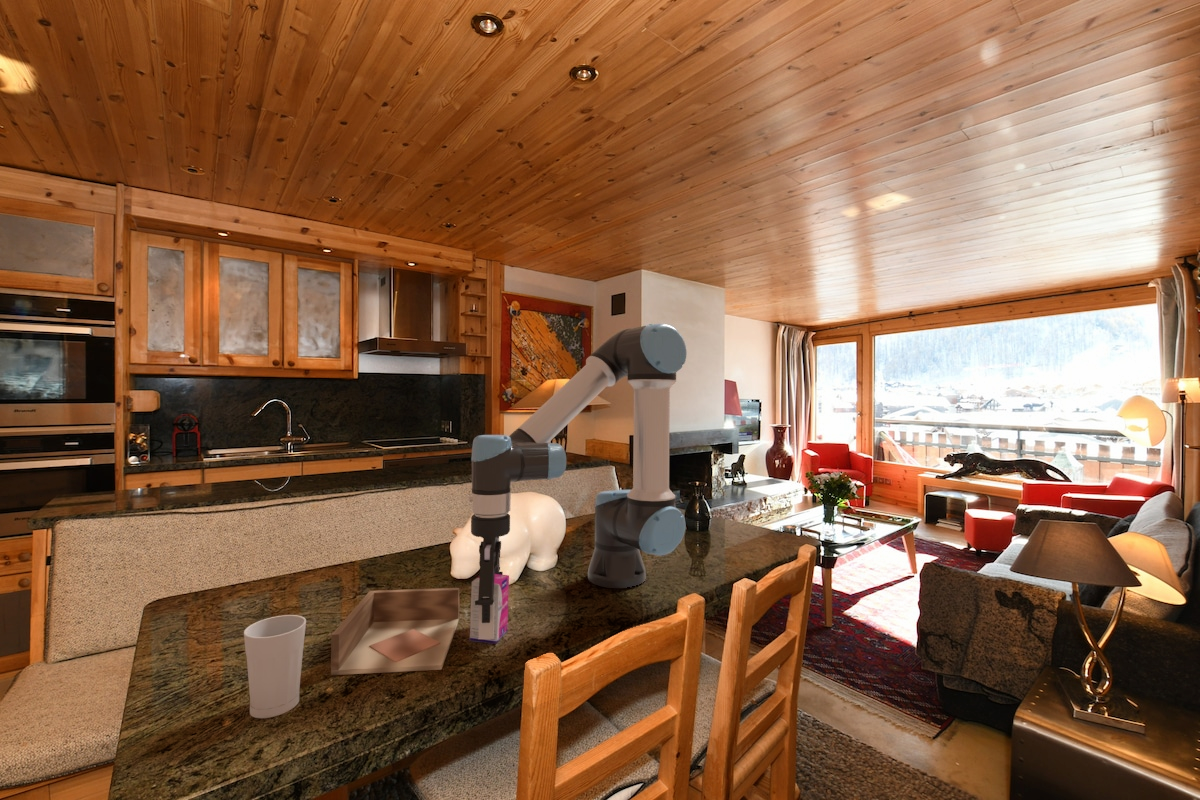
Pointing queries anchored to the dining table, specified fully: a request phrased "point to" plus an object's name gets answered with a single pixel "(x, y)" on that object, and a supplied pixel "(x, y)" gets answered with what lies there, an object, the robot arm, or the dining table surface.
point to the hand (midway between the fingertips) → (489, 623)
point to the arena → (396, 632)
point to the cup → (274, 664)
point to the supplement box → (499, 609)
